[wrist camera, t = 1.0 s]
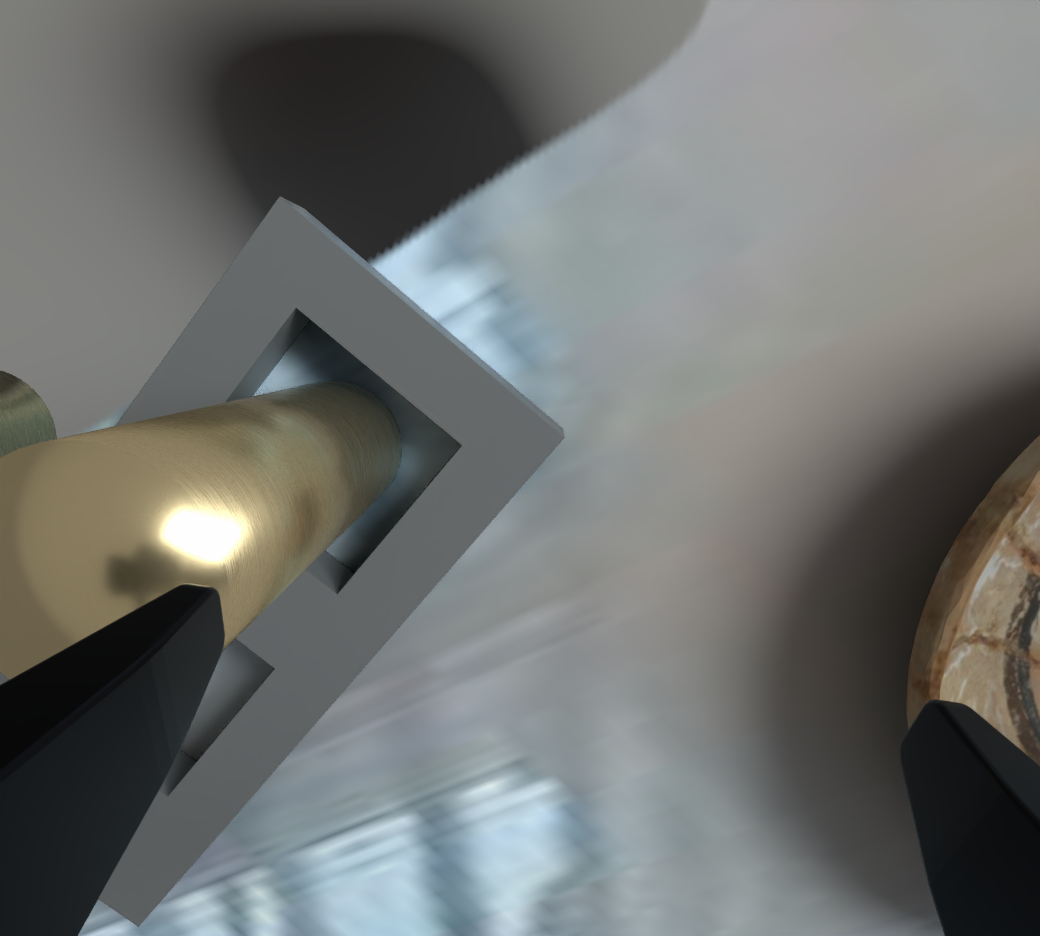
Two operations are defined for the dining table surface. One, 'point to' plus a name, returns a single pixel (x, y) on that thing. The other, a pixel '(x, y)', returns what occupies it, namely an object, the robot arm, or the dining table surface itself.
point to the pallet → (326, 582)
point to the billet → (183, 510)
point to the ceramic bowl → (988, 613)
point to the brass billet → (22, 416)
